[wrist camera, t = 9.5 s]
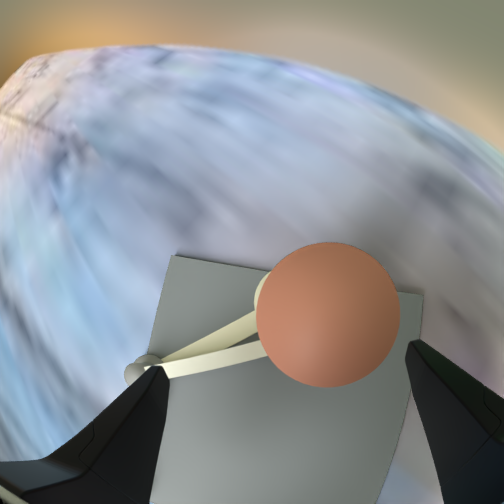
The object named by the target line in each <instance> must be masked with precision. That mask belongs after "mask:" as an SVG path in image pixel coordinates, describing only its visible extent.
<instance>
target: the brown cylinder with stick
mask: <svg viewBox="0 0 504 504" xmlns="http://www.w3.org/2000/svg"><path fill="white" fill-rule="evenodd" d="M256 324H257V330H258V335H259V338H260V340H259V341H255V342H251V343H248V344H244V345H240V346H236V347H232V348H228V349H224V350H220V351H216V352H212V353H208V354H204V355H200V356H195V357H191V358H186V359H182V360H177V361H172V362H167V363H163V364H157V365H160V366H162V367H163V368H164V370H165V372H166V374H167V376H168V378H174V377H179V376H184V375H189V374H194V373H199V372H204V371H208V370H213V369H217V368H222V367H226V366H230V365H234V364H238V363H242V362H246V361H250V360H254V359H258V358H261V357H265V356H269V358H270V359H271V361H272V362H273V363H274V364H275V365H276V366H277V367H278V368H279V369H280V370H281V371H282V372H284V373H285V374H286V375H288V376H289V377H291V378H293V379H294V380H296V381H299V382H301V383H303V384H307V385H310V386H315V387H339V386H344V385H347V384H351V383H353V382H356V381H358V380H360V379H362V378H364V377H365V376H367V375H368V374H370V373H371V372H372V371H374V370H375V369H376V368H377V367H378V366H379V365H380V364H381V363H382V362H383V361H384V359H385V358H386V357H387V355H388V354H389V352H390V350H391V348H392V347H393V345H394V342H395V340H396V337H397V334H398V330H399V324H400V304H399V298H398V294H397V291H396V288H395V286H394V283H393V281H392V279H391V278H390V276H389V274H388V273H387V272H386V270H385V269H384V268H383V266H382V265H381V264H380V263H379V262H378V261H377V260H375V259H374V258H373V257H372V256H370V255H369V254H367V253H366V252H364V251H362V250H360V249H358V248H355V247H353V246H350V245H346V244H341V243H327V242H326V243H317V244H313V245H308V246H306V247H303V248H300V249H298V250H296V251H294V252H293V253H291V254H289V255H288V256H286V257H285V258H284V259H283V260H281V261H280V262H279V263H278V264H277V265H276V266H275V267H274V269H273V270H272V271H271V272H270V274H269V275H268V277H267V278H266V280H265V282H264V284H263V286H262V288H261V291H260V294H259V297H258V302H257V308H256ZM152 365H153V364H151V363H131V364H129V365H128V366H127V367H126V369H125V372H124V378H125V381H126V383H127V384H128V386H130V385H131V384H132V383H133V382H134V381H135V380H136V379H138V378H139V377H140V376H141V375H142V374H143V373H144V372H145V371H146V370H147V369H148V368H149V367H150V366H152Z"/></svg>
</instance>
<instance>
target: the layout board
mask: <svg viewBox="0 0 504 504" xmlns="http://www.w3.org/2000/svg"><path fill="white" fill-rule="evenodd" d="M270 272H271V271H270ZM270 272H268V271H262V270H255V269H249V268H243V267H237V266H231V265H225V264H220V263H214V262H208V261H202V260H196V259H190V258H185V257H179V256H173V255H171V258H170V262H169V265H168V269H167V273H166V277H165V280H164V284H163V288H162V292H161V296H160V300H159V304H158V308H157V312H156V317H155V321H154V325H153V330H152V334H151V339H150V343H149V348H148V352H147V355H143V356H140V357H139V358H137V359H136V360H135V362H134V363H151V364H153V365H157V364H163V363H167V362H172V361H177V360H182V359H186V358H191V357H195V356H200V355H204V354H208V353H212V352H216V351H220V350H224V349H228V348H232V347H236V346H240V345H244V344H248V343H251V342H255V341H259V340H260V338H259V335H258V330H257V324H256V308H257V302H258V297H259V294H260V291H261V288H262V286H263V284H264V282H265V280H266V278H267V277H268V275H269V274H270ZM397 294H398V298H399V304H400V324H399V330H398V334H397V337H396V340H395V342H394V345H393V347H392V348H391V350H390V352H389V354H388V355H387V357H386V358H385V359H384V361H383V362H382V363H381V364H380V365H379V366H378V367H377V368H376V369H375V370H374V371H372V372H371V373H370V374H368V375H367V376H365V377H364V378H362V379H360V380H358V381H356V382H353V383H351V384H347V385H344V386H339V387H315V386H310V385H307V384H303V383H301V382H299V381H296V380H294V379H293V378H291V377H289V376H288V375H286V374H285V373H284V372H282V371H281V370H280V369H279V368H278V367H277V366H276V365H275V364H274V363H273V362H272V361H271V359H270V358H269V356H265V357H261V358H258V359H254V360H250V361H246V362H242V363H238V364H234V365H230V366H226V367H222V368H217V369H213V370H208V371H204V372H199V373H194V374H189V375H184V376H179V377H174V378H169V381H170V389H169V399H168V408H167V417H166V423H165V428H164V432H163V437H162V442H161V446H160V451H159V456H158V461H157V466H156V471H155V476H154V481H153V486H152V491H151V497H150V502H152V503H154V504H376V501H377V499H378V496H379V494H380V491H381V489H382V486H383V483H384V481H385V478H386V475H387V473H388V470H389V467H390V464H391V461H392V458H393V455H394V452H395V448H396V445H397V442H398V438H399V435H400V431H401V428H402V424H403V420H404V416H405V412H406V408H407V403H408V399H409V394H410V390H411V384H410V380H409V376H408V372H407V368H406V364H405V355H406V351H407V347H408V343H409V342H410V341H412V340H416V339H419V335H420V327H421V318H422V307H423V295H420V294H413V293H405V292H398V291H397Z"/></svg>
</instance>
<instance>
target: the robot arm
mask: <svg viewBox="0 0 504 504" xmlns="http://www.w3.org/2000/svg"><path fill="white" fill-rule="evenodd" d="M405 364H406V368H407V372H408V376H409V380H410V384H411V389H412V393H413V397H414V400H415V403H416V406H417V409H418V412H419V415H420V418H421V421H422V424H423V427H424V430H425V433H426V436H427V440H428V443H429V446H430V450H431V453H432V457H433V460H434V464H435V467H436V471H437V475H438V479H439V483H440V486H441V492H442V496H443V501H444V504H504V398H502V397H500V396H499V395H497V394H496V393H495V392H493V391H492V390H490V389H489V388H488V387H486V386H484V385H483V384H482V383H481V382H479V381H478V380H477V379H475V378H474V377H472V376H471V375H470V374H468V373H467V372H466V371H464V370H463V369H461V368H460V367H459V366H457V365H456V364H454V363H453V362H452V361H450V360H449V359H447V358H446V357H445V356H443V355H442V354H440V353H439V352H438V351H436V350H435V349H433V348H432V347H431V346H429V345H428V344H426V343H425V342H423V341H422V340H420V339H416V340H412V341H410V342H409V343H408V347H407V351H406V355H405ZM169 389H170V381H169V378H168V376H167V374H166V372H165V370H164V368H163V367H162V366H160V365H152V366H150V367H149V368H148V369H147V370H146V371H145V372H144V373H143V374H142V375H141V376H140V377H139V378H138V379H136V380H135V381H134V382H133V383H132V384H131V385H130V386H129V387H128V388H127V389H126V390H125V391H124V392H123V393H122V394H120V395H119V396H118V397H117V398H116V399H115V400H114V401H113V402H112V403H111V404H110V405H109V406H108V407H107V408H105V409H104V410H103V411H102V412H101V413H100V414H99V415H98V416H97V417H96V418H95V419H94V420H93V421H91V422H90V423H89V424H88V425H87V426H86V427H85V428H84V429H83V430H81V431H80V432H79V433H78V434H77V435H75V436H74V437H73V438H72V439H70V440H69V441H68V442H66V443H65V444H64V445H62V446H61V447H60V448H58V449H57V450H55V451H54V452H53V453H51V454H50V455H48V456H47V457H45V458H42V459H38V460H29V461H8V462H0V486H1V487H0V504H149V502H150V497H151V491H152V486H153V481H154V476H155V471H156V466H157V461H158V456H159V451H160V446H161V442H162V437H163V432H164V428H165V423H166V417H167V408H168V399H169Z"/></svg>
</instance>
